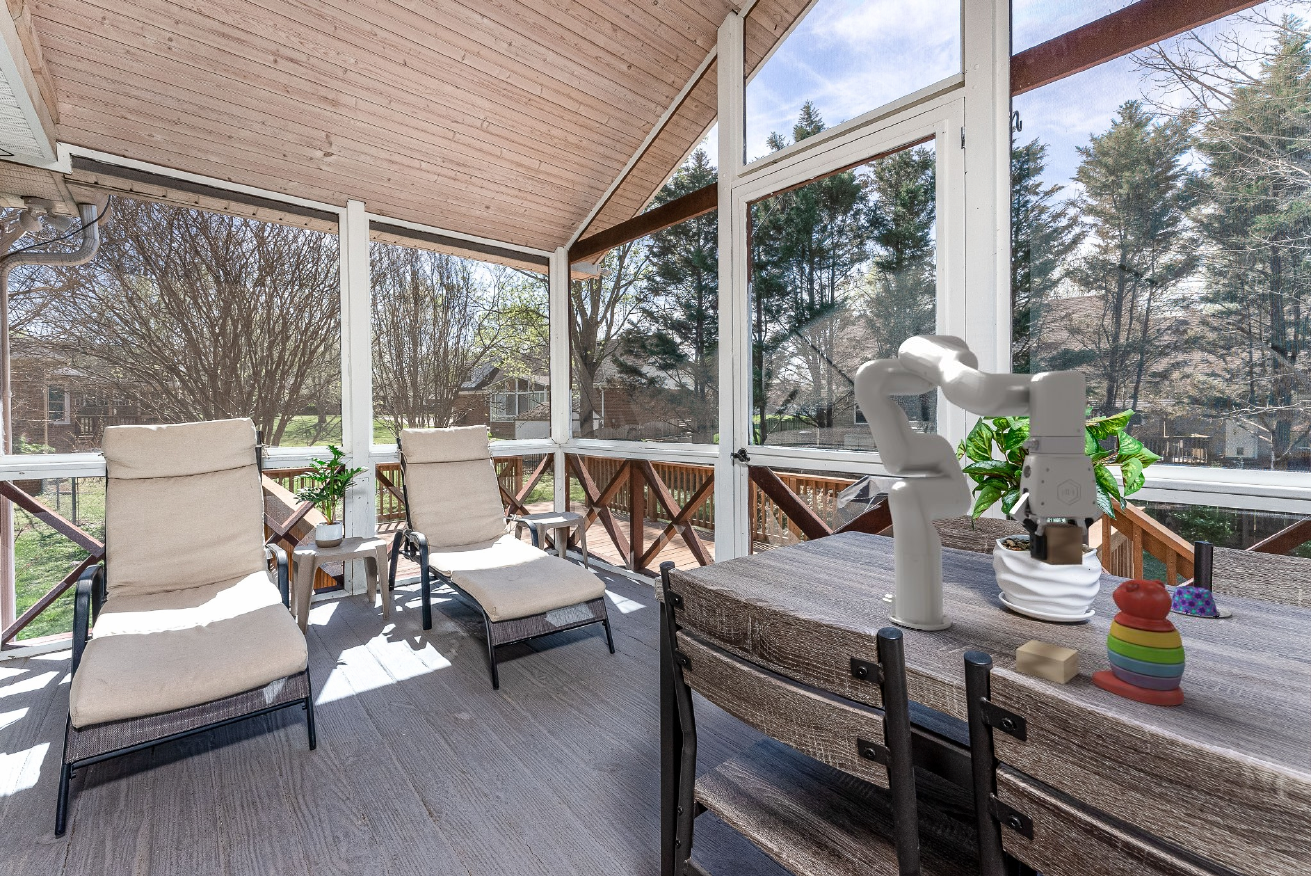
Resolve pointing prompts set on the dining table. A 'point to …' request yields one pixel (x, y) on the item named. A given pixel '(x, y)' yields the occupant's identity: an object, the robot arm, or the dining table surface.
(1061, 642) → the dining table surface
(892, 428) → the robot arm
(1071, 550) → the walnut block
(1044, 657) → the oak block
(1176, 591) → the blue patterned hat
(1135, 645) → the stacking bear
